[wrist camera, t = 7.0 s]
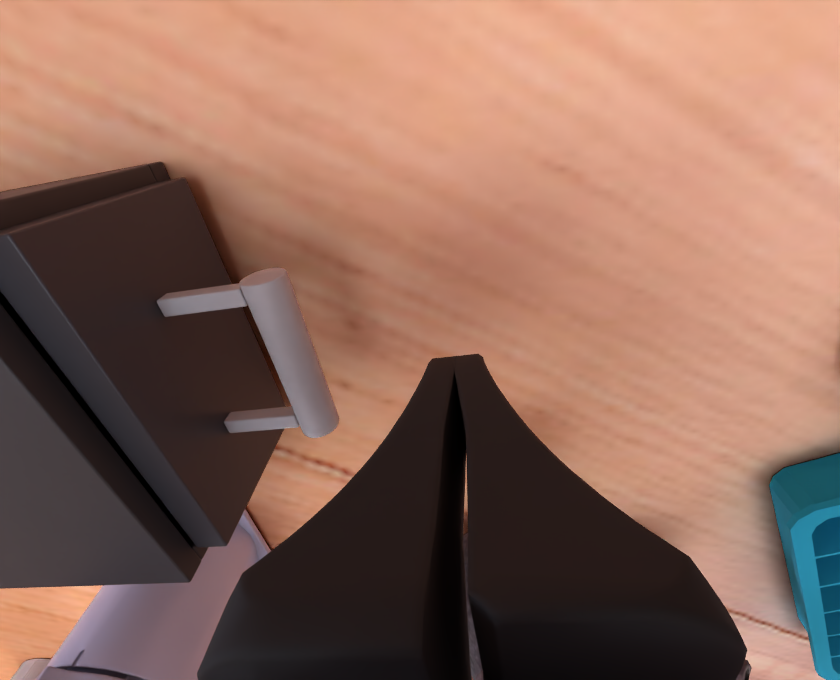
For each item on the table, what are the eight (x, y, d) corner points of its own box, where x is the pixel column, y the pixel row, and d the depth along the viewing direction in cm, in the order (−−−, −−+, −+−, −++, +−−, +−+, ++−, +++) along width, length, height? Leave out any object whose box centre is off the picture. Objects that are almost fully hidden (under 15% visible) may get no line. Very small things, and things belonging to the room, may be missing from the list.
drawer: (297, 156, 14) (187, 203, 8) (371, 409, 19) (340, 542, 14) (-99, 228, 16) (-409, 305, 10) (74, 435, 22) (-61, 559, 16)
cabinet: (162, 160, 15) (-112, 226, 8) (278, 415, 21) (191, 583, 14) (-130, 216, 17) (-579, 311, 9) (58, 435, 23) (-122, 592, 16)
